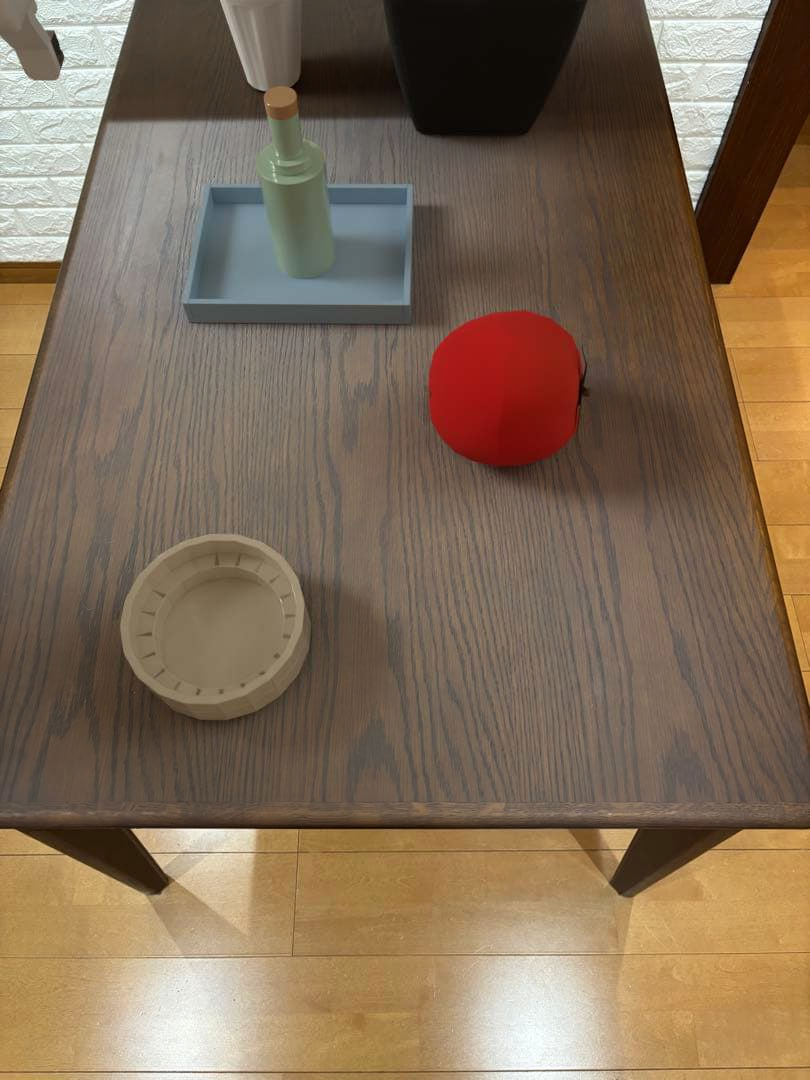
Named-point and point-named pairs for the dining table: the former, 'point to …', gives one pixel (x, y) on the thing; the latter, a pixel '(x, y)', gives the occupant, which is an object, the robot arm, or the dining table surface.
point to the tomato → (507, 388)
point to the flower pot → (479, 60)
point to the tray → (273, 297)
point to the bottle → (295, 191)
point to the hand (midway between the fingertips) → (67, 18)
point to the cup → (267, 40)
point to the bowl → (216, 626)
